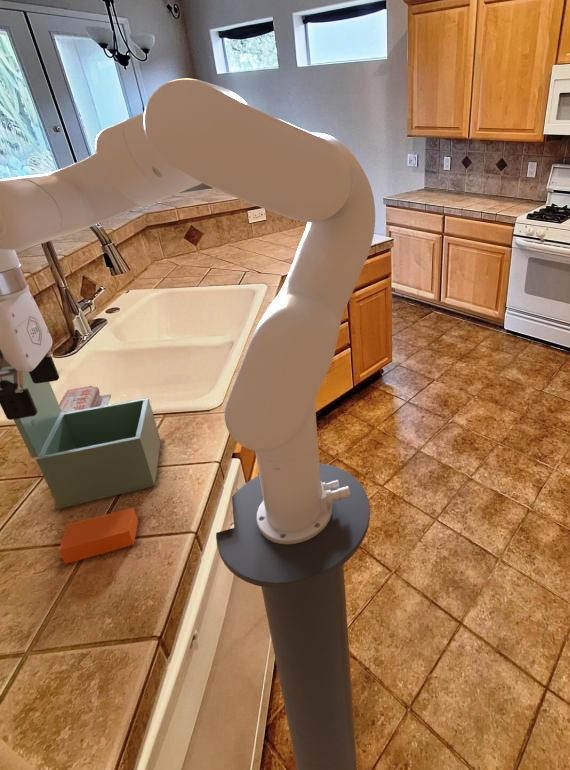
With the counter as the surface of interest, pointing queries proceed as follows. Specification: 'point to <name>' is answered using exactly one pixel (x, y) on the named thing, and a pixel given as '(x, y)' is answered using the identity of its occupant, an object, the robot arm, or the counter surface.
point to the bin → (101, 452)
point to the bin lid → (47, 414)
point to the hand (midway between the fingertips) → (35, 397)
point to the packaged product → (83, 399)
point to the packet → (99, 535)
